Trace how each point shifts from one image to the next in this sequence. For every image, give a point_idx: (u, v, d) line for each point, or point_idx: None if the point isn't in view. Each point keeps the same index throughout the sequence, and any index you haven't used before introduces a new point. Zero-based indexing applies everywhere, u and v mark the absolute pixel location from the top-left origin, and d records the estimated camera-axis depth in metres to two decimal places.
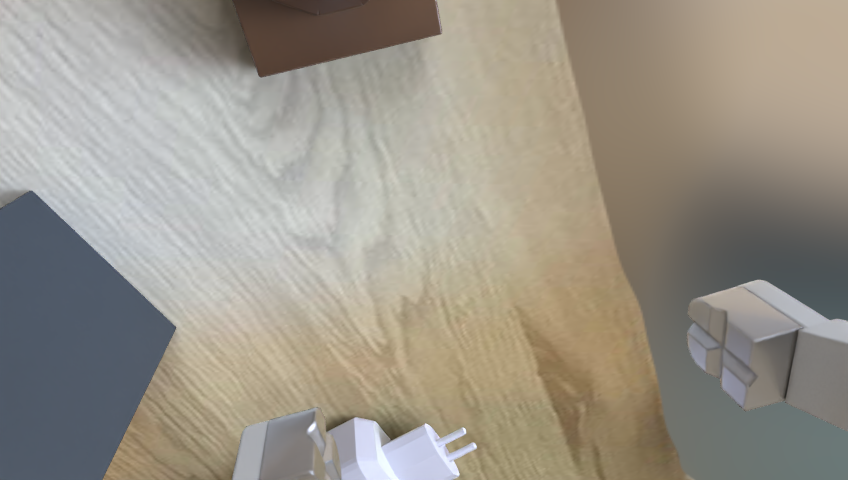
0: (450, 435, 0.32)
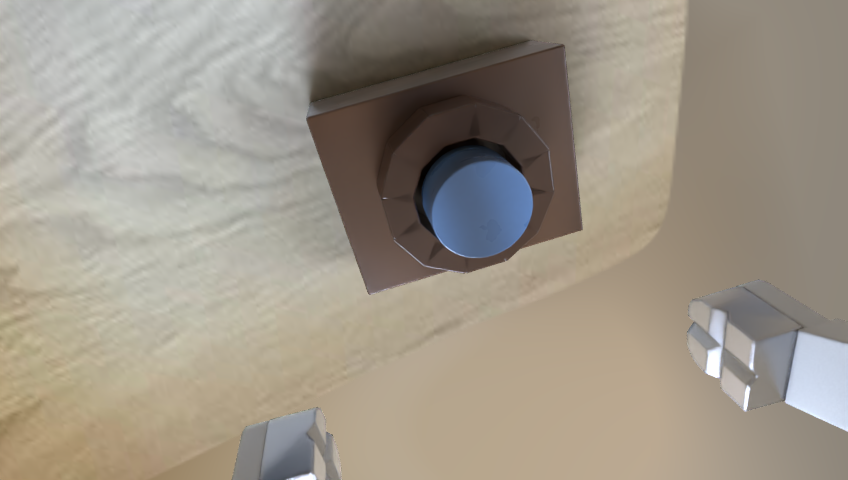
0: None
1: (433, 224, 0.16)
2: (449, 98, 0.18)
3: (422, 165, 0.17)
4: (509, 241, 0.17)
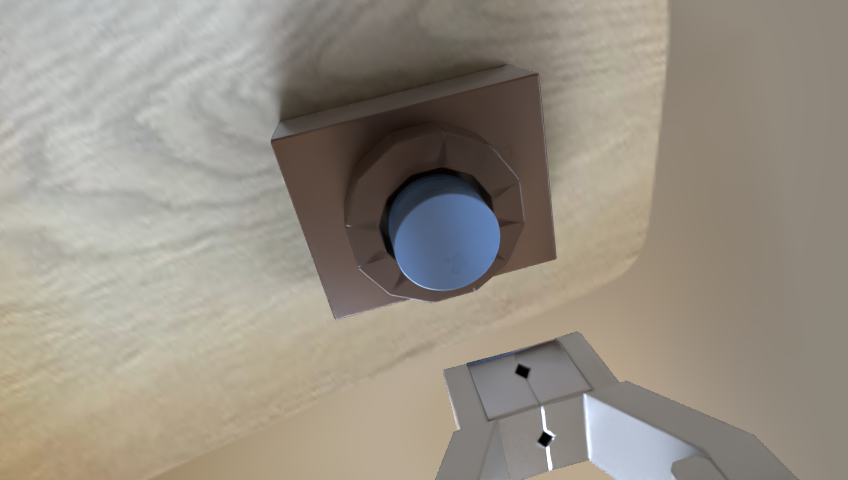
0: None
1: (396, 256, 0.16)
2: (419, 124, 0.18)
3: (388, 193, 0.17)
4: (475, 274, 0.17)
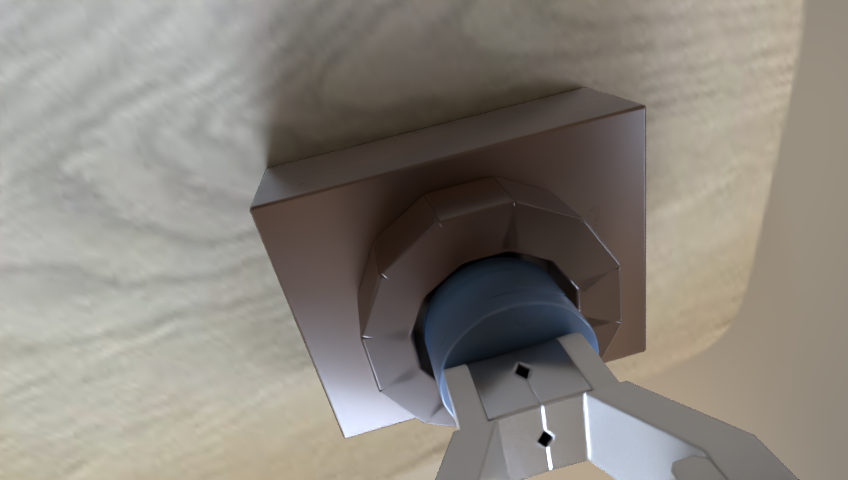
0: None
1: (441, 393, 0.10)
2: (470, 181, 0.12)
3: (427, 290, 0.11)
4: None
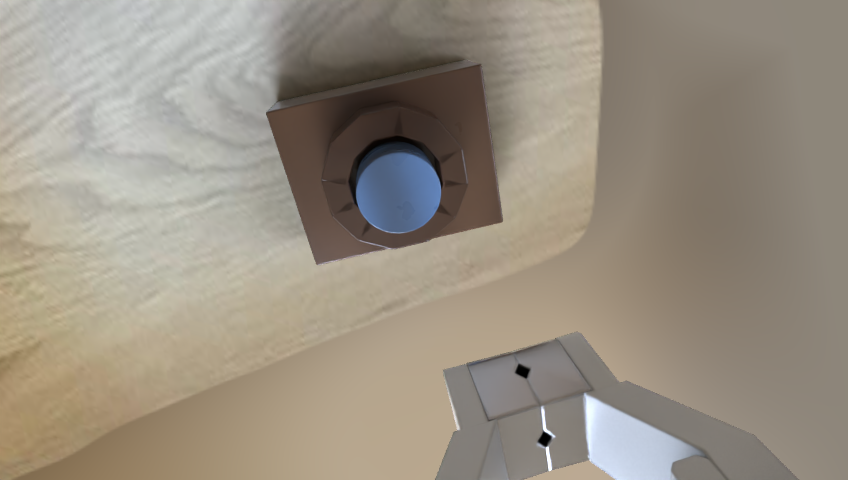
0: None
1: (357, 202, 0.20)
2: (384, 103, 0.22)
3: (355, 155, 0.21)
4: (422, 221, 0.21)
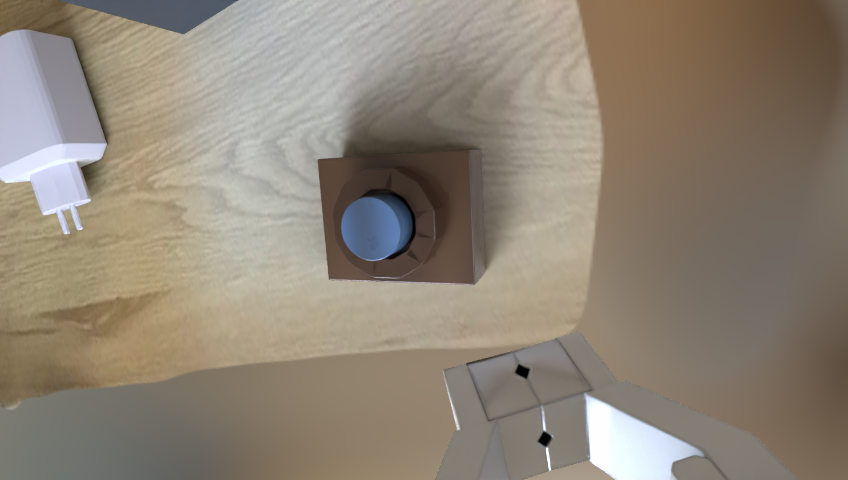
0: (77, 217, 0.40)
1: (341, 228, 0.27)
2: (394, 167, 0.29)
3: (357, 197, 0.28)
4: (383, 254, 0.27)
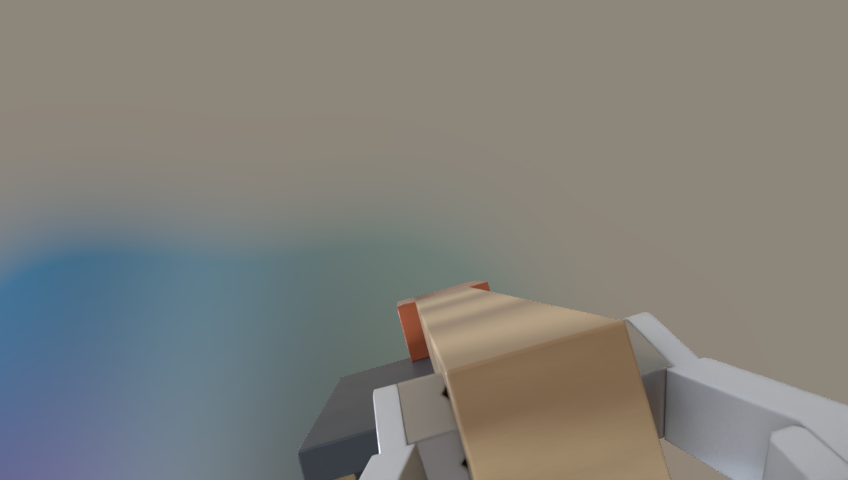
0: None
1: None
2: None
3: None
4: None
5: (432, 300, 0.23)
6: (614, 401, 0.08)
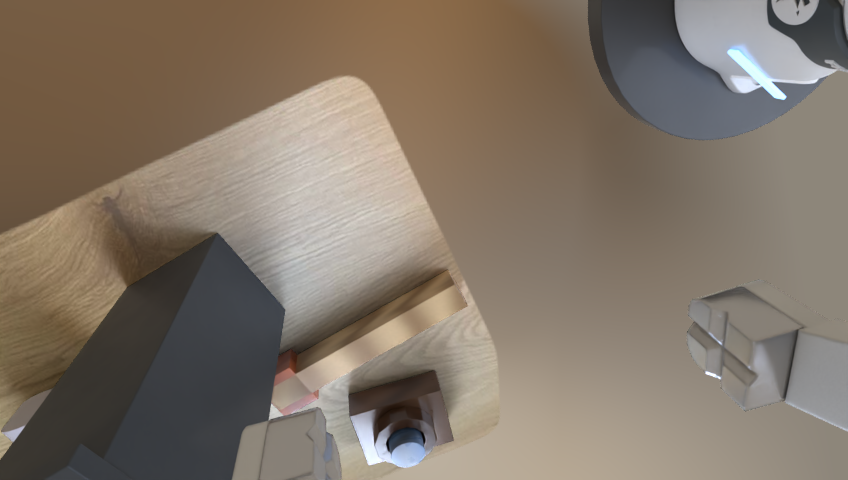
0: None
1: (391, 459, 0.50)
2: (399, 407, 0.51)
3: (389, 435, 0.50)
4: (417, 462, 0.50)
5: (330, 375, 0.48)
6: (454, 282, 0.47)
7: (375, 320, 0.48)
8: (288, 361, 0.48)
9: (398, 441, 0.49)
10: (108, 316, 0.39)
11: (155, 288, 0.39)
